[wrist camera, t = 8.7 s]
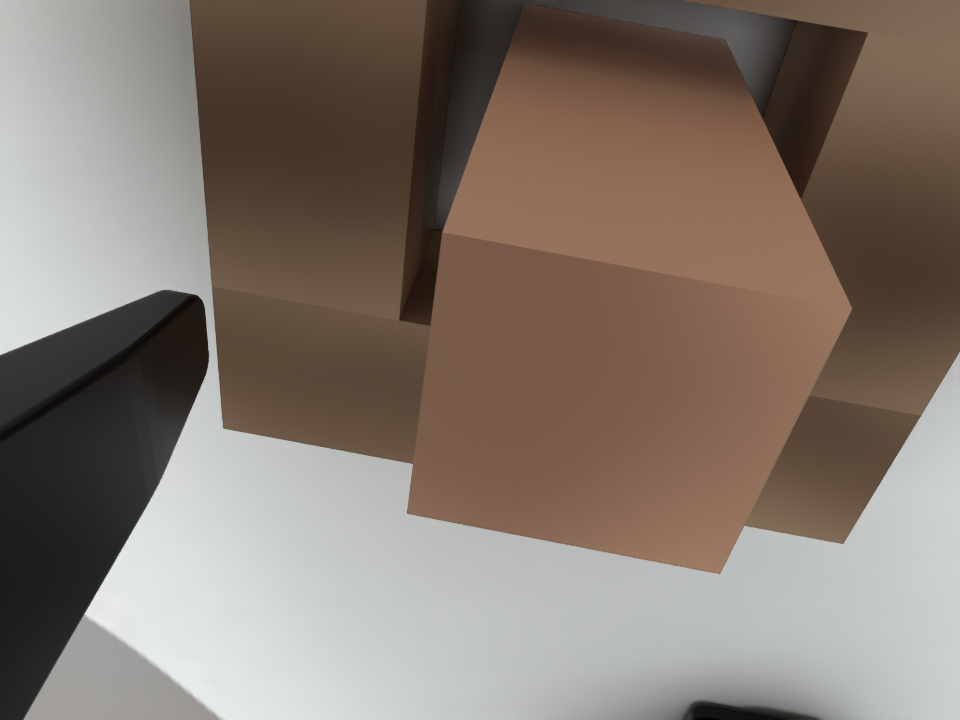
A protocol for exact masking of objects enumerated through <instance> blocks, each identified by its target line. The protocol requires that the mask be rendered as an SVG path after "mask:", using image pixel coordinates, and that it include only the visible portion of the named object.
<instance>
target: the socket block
mask: <svg viewBox="0 0 960 720" xmlns="http://www.w3.org/2000/svg"><path fill="white" fill-rule="evenodd" d="M681 1H687V2H692V3H698V4H704V5H710V6H716V7H722V8H727V9H733V10H739V11H745V12H751V13H757V14H762V15H768V16H774V17H780V18H786V19H792V20H797V22H796V24H795V27H794V30H793V33H792V36H791V39H790V42H789V44H788V47H787V50H786V53H785V56H784V59H783V62H782V65H781V67H780V70H779V73H778V76H777V79H776V82H775V85H774V87H773V90H772V93H771V96H770V99H769V102H768V105H767V107H766V110H765V113H764V116H763V121H764V123H765V125H766V127H767V129H768V131H769V134H770V136H771V138H772V140H773V142H774V144H775V146H776V148H777V150H778V153H779V155H780V157H781V159H782V161H783V163H784V165H785V167H786V170H787V172H788V174H789V176H790V178H791V180H792V182H793V184H794V186H795V189H796V191H797V193H798V195H799V197H800V199H801V201H802V203H803V205H804V208H805V210H806V212H807V214H808V216H809V218H810V220H811V222H812V224H813V227H814V229H815V231H816V233H817V235H818V237H819V239H820V241H821V243H822V246H823V248H824V250H825V252H826V254H827V256H828V258H829V260H830V262H831V265H832V267H833V269H834V271H835V273H836V275H837V277H838V279H839V282H840V284H841V286H842V288H843V290H844V292H845V294H846V296H847V298H848V301H849V303H850V305H851V307H852V310H851V312H850V314H849V317H848V319H847V321H846V323H845V325H844V327H843V329H842V331H841V333H840V335H839V337H838V339H837V341H836V343H835V345H834V347H833V349H832V351H831V353H830V355H829V357H828V359H827V361H826V363H825V365H824V367H823V369H822V371H821V373H820V375H819V377H818V379H817V381H816V383H815V385H814V387H813V389H812V391H811V393H810V395H809V397H808V399H807V401H806V403H805V405H804V407H803V409H802V411H801V413H800V415H799V417H798V419H797V421H796V423H795V425H794V427H793V429H792V431H791V433H790V435H789V437H788V439H787V441H786V443H785V445H784V447H783V449H782V451H781V453H780V455H779V457H778V459H777V461H776V463H775V465H774V467H773V469H772V471H771V473H770V475H769V477H768V479H767V481H766V483H765V485H764V487H763V489H762V491H761V493H760V495H759V497H758V499H757V501H756V503H755V505H754V507H753V509H752V511H751V513H750V515H749V517H748V519H747V521H746V523H745V525H744V526H749V527H755V528H760V529H765V530H771V531H776V532H781V533H787V534H792V535H798V536H803V537H808V538H814V539H819V540H824V541H830V542H835V543H840V544H843V543H844V542H845V540H846V538H847V537H848V535H849V533H850V532H851V530H852V529H853V527H854V525H855V524H856V522H857V520H858V519H859V517H860V515H861V514H862V512H863V510H864V509H865V507H866V505H867V504H868V502H869V500H870V499H871V497H872V496H873V494H874V492H875V491H876V489H877V487H878V486H879V484H880V482H881V481H882V479H883V477H884V476H885V474H886V472H887V471H888V469H889V468H890V466H891V464H892V463H893V461H894V459H895V458H896V456H897V454H898V453H899V451H900V449H901V448H902V446H903V444H904V443H905V441H906V440H907V438H908V436H909V435H910V433H911V431H912V430H913V428H914V426H915V425H916V423H917V421H918V420H919V418H920V416H921V415H922V413H923V411H924V410H925V408H926V407H927V405H928V403H929V402H930V400H931V398H932V397H933V395H934V393H935V392H936V390H937V388H938V387H939V385H940V383H941V382H942V380H943V379H944V377H945V375H946V374H947V372H948V370H949V369H950V367H951V365H952V364H953V362H954V360H955V359H956V357H957V355H958V354H959V352H960V0H681ZM458 5H459V0H190V12H191V25H192V38H193V50H194V63H195V76H196V89H197V101H198V114H199V127H200V140H201V153H202V165H203V178H204V191H205V204H206V216H207V229H208V242H209V255H210V267H211V280H212V293H213V306H214V318H215V331H216V344H217V357H218V369H219V382H220V395H221V408H222V420H223V428H224V429H229V430H234V431H240V432H245V433H250V434H256V435H261V436H267V437H272V438H277V439H283V440H288V441H293V442H299V443H304V444H309V445H315V446H320V447H326V448H331V449H336V450H342V451H347V452H352V453H358V454H363V455H368V456H374V457H379V458H385V459H390V460H395V461H401V462H406V463H411V464H413V461H414V454H415V446H416V438H417V430H418V422H419V414H420V406H421V398H422V390H423V382H424V374H425V366H426V358H427V350H428V342H429V334H430V326H431V318H432V310H433V302H434V294H435V286H436V278H437V270H438V262H439V254H440V247H441V239H442V232H443V231H442V230H436V229H434V225H435V216H436V206H437V197H438V188H439V179H440V170H441V161H442V152H443V142H444V133H445V124H446V115H447V106H448V97H449V88H450V78H451V69H452V60H453V51H454V42H455V33H456V24H457V14H458Z"/></svg>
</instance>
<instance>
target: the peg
mask: <svg viewBox="0 0 960 720" xmlns="http://www.w3.org/2000/svg"><path fill="white" fill-rule="evenodd" d="M851 310H852V307H851V305H850V303H849V301H848V298H847V296H846V294H845V292H844V290H843V288H842V286H841V284H840V282H839V279H838V277H837V275H836V273H835V271H834V269H833V267H832V265H831V262H830V260H829V258H828V256H827V254H826V252H825V250H824V248H823V246H822V243H821V241H820V239H819V237H818V235H817V233H816V231H815V229H814V227H813V224H812V222H811V220H810V218H809V216H808V214H807V212H806V210H805V208H804V205H803V203H802V201H801V199H800V197H799V195H798V193H797V191H796V189H795V186H794V184H793V182H792V180H791V178H790V176H789V174H788V172H787V170H786V167H785V165H784V163H783V161H782V159H781V157H780V155H779V153H778V150H777V148H776V146H775V144H774V142H773V140H772V138H771V136H770V134H769V131H768V129H767V127H766V125H765V123H764V121H763V119H762V117H761V115H760V112H759V110H758V108H757V106H756V104H755V102H754V100H753V98H752V96H751V93H750V91H749V89H748V87H747V85H746V83H745V81H744V79H743V77H742V74H741V72H740V70H739V68H738V66H737V64H736V62H735V60H734V58H733V55H732V53H731V51H730V49H729V47H728V45H727V43H726V41H725V40H723V39H718V38H712V37H707V36H701V35H696V34H690V33H685V32H679V31H674V30H668V29H663V28H657V27H652V26H646V25H640V24H635V23H629V22H624V21H618V20H613V19H607V18H602V17H596V16H591V15H585V14H580V13H574V12H569V11H563V10H558V9H552V8H547V7H541V6H536V5H530V4H524V7H523V10H522V12H521V15H520V18H519V21H518V24H517V26H516V29H515V32H514V35H513V37H512V40H511V43H510V46H509V49H508V51H507V54H506V57H505V60H504V62H503V65H502V68H501V71H500V74H499V76H498V79H497V82H496V85H495V87H494V90H493V93H492V96H491V98H490V101H489V104H488V107H487V110H486V112H485V115H484V118H483V121H482V123H481V126H480V129H479V132H478V135H477V137H476V140H475V143H474V146H473V148H472V151H471V154H470V157H469V160H468V162H467V165H466V168H465V171H464V173H463V176H462V179H461V182H460V184H459V187H458V190H457V193H456V196H455V198H454V201H453V204H452V207H451V209H450V212H449V215H448V218H447V221H446V223H445V226H444V229H443V232H442V239H441V247H440V254H439V262H438V270H437V278H436V286H435V294H434V302H433V310H432V318H431V326H430V334H429V342H428V350H427V358H426V366H425V374H424V382H423V390H422V398H421V406H420V414H419V422H418V430H417V438H416V446H415V454H414V461H413V469H412V477H411V485H410V493H409V501H408V509H407V514H412V515H417V516H422V517H427V518H432V519H437V520H443V521H448V522H453V523H458V524H463V525H468V526H474V527H479V528H484V529H489V530H494V531H499V532H505V533H510V534H515V535H520V536H525V537H530V538H536V539H541V540H546V541H551V542H556V543H562V544H567V545H572V546H577V547H582V548H587V549H593V550H598V551H603V552H608V553H613V554H618V555H624V556H629V557H634V558H639V559H644V560H649V561H655V562H660V563H665V564H670V565H675V566H680V567H686V568H691V569H696V570H701V571H706V572H712V573H717V574H720V573H721V571H722V569H723V567H724V565H725V563H726V561H727V559H728V557H729V555H730V553H731V551H732V549H733V547H734V545H735V543H736V541H737V539H738V537H739V535H740V533H741V531H742V529H743V527H744V525H745V523H746V521H747V519H748V517H749V515H750V513H751V511H752V509H753V507H754V505H755V503H756V501H757V499H758V497H759V495H760V493H761V491H762V489H763V487H764V485H765V483H766V481H767V479H768V477H769V475H770V473H771V471H772V469H773V467H774V465H775V463H776V461H777V459H778V457H779V455H780V453H781V451H782V449H783V447H784V445H785V443H786V441H787V439H788V437H789V435H790V433H791V431H792V429H793V427H794V425H795V423H796V421H797V419H798V417H799V415H800V413H801V411H802V409H803V407H804V405H805V403H806V401H807V399H808V397H809V395H810V393H811V391H812V389H813V387H814V385H815V383H816V381H817V379H818V377H819V375H820V373H821V371H822V369H823V367H824V365H825V363H826V361H827V359H828V357H829V355H830V353H831V351H832V349H833V347H834V345H835V343H836V341H837V339H838V337H839V335H840V333H841V331H842V329H843V327H844V325H845V323H846V321H847V319H848V317H849V314H850V312H851Z"/></svg>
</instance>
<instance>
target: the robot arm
mask: <svg viewBox="0 0 960 720" xmlns="http://www.w3.org/2000/svg"><path fill="white" fill-rule="evenodd" d="M208 362H209V351H208V339H207V328H206V316H205V307H204V304H203V301H202V300H201V299H200V298H199V297H198V296H197V295H194V294H188V293H183V292H177V291H172V290H162V291H159V292H156V293H154V294H151V295H149V296H146V297H144V298H141V299H139V300H136V301H134V302H131V303H129V304H126V305H124V306H121V307H119V308H116V309H114V310H111V311H109V312H106V313H104V314H101V315H99V316H96V317H94V318H91V319H89V320H87V321H84V322H82V323H79V324H77V325H74V326H72V327H69V328H67V329H64V330H62V331H59V332H57V333H54V334H52V335H49V336H47V337H44V338H42V339H39V340H37V341H34V342H32V343H29V344H27V345H24V346H22V347H19V348H17V349H14V350H12V351H9V352H7V353H4V354H2V355H0V720H23V719H24V718H25V716H26V714H27V712H28V711H29V709H30V707H31V706H32V704H33V702H34V700H35V699H36V697H37V695H38V694H39V692H40V690H41V688H42V687H43V685H44V683H45V681H46V680H47V678H48V676H49V674H50V673H51V671H52V669H53V667H54V666H55V664H56V662H57V660H58V659H59V657H60V655H61V654H62V652H63V650H64V649H65V647H66V645H67V643H68V642H69V640H70V638H71V636H72V635H73V633H74V631H75V629H76V628H77V626H78V624H79V622H80V621H81V619H82V617H83V616H84V614H85V612H86V610H87V609H88V607H89V605H90V604H91V602H92V600H93V598H94V597H95V595H96V593H97V591H98V590H99V588H100V586H101V584H102V583H103V581H104V579H105V578H106V576H107V574H108V572H109V571H110V569H111V567H112V565H113V564H114V562H115V560H116V559H117V557H118V555H119V553H120V552H121V550H122V548H123V546H124V545H125V543H126V541H127V539H128V538H129V536H130V534H131V533H132V531H133V529H134V527H135V526H136V524H137V522H138V520H139V519H140V517H141V515H142V514H143V512H144V510H145V508H146V507H147V505H148V503H149V501H150V499H151V498H152V496H153V494H154V492H155V490H156V488H157V487H158V485H159V483H160V480H161V478H162V476H163V474H164V472H165V469H166V467H167V465H168V463H169V460H170V458H171V456H172V453H173V451H174V448H175V446H176V444H177V441H178V439H179V437H180V434H181V432H182V430H183V427H184V425H185V423H186V420H187V418H188V415H189V413H190V411H191V408H192V406H193V404H194V401H195V399H196V397H197V394H198V392H199V390H200V387H201V385H202V383H203V380H204V378H205V375H206V372H207V368H208ZM685 720H775V719H770V718H765V717H759V716H754V715H749V714H744V713H739V712H733V711H728V710H723V709H718V708H713V707H707V706H700V707H695V708H693V709H692V710H691V711H690V712H689V714H688V716H687V718H686V719H685Z"/></svg>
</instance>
